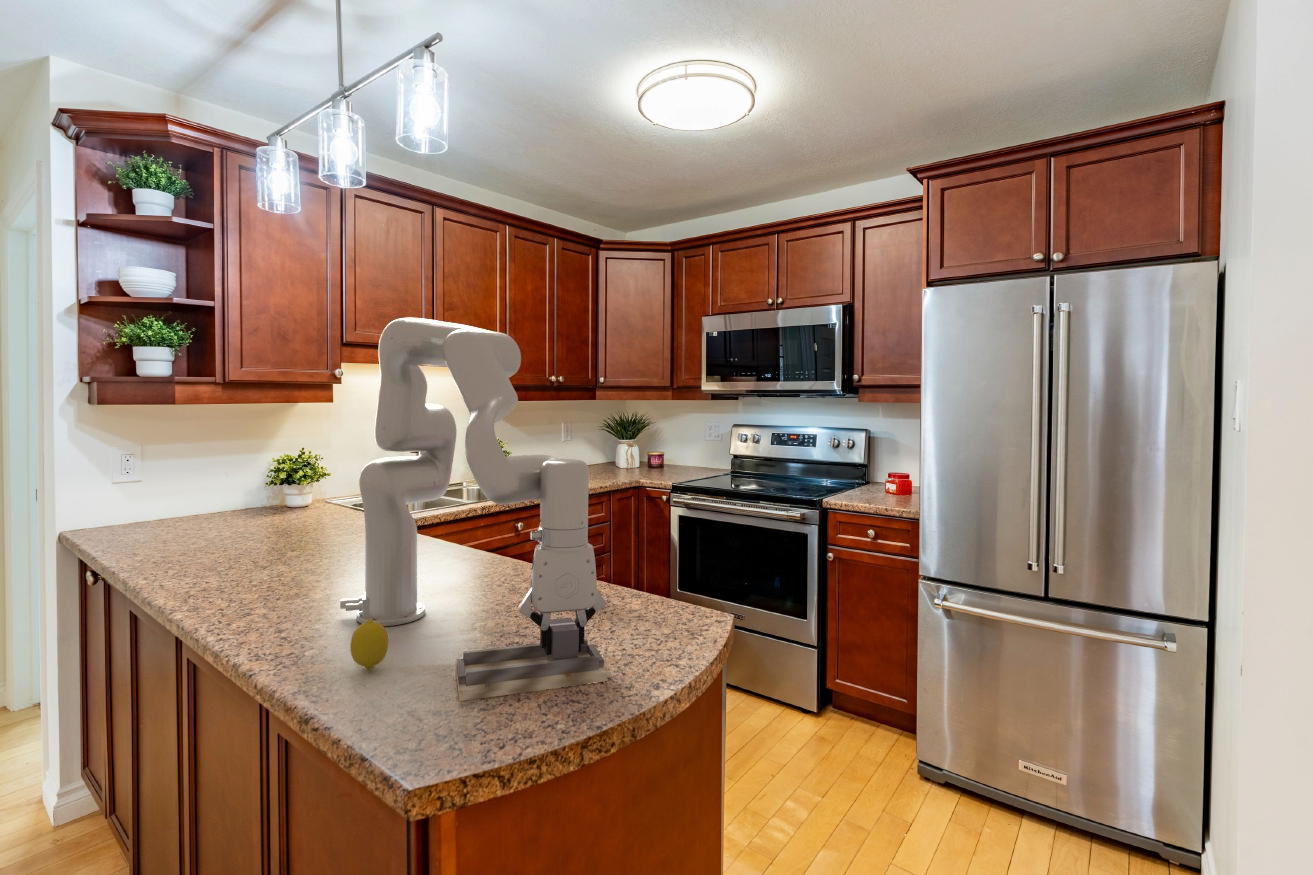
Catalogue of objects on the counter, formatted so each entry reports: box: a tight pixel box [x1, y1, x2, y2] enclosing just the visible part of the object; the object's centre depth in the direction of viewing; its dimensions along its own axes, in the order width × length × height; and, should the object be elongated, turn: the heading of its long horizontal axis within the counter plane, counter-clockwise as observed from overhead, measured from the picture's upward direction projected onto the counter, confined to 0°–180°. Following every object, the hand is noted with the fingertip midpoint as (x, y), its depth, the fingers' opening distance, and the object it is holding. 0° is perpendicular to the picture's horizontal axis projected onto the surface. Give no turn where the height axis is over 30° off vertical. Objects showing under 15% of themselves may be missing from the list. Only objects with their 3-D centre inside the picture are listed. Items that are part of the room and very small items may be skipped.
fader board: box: [455, 638, 608, 702], centre depth 101 cm, size 22×11×4 cm, turn 110°
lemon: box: [349, 620, 389, 671], centre depth 102 cm, size 6×6×8 cm
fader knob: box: [546, 617, 579, 661], centre depth 103 cm, size 4×6×6 cm
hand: (562, 648), depth 103 cm, fingers closed on fader knob, 4 cm apart
